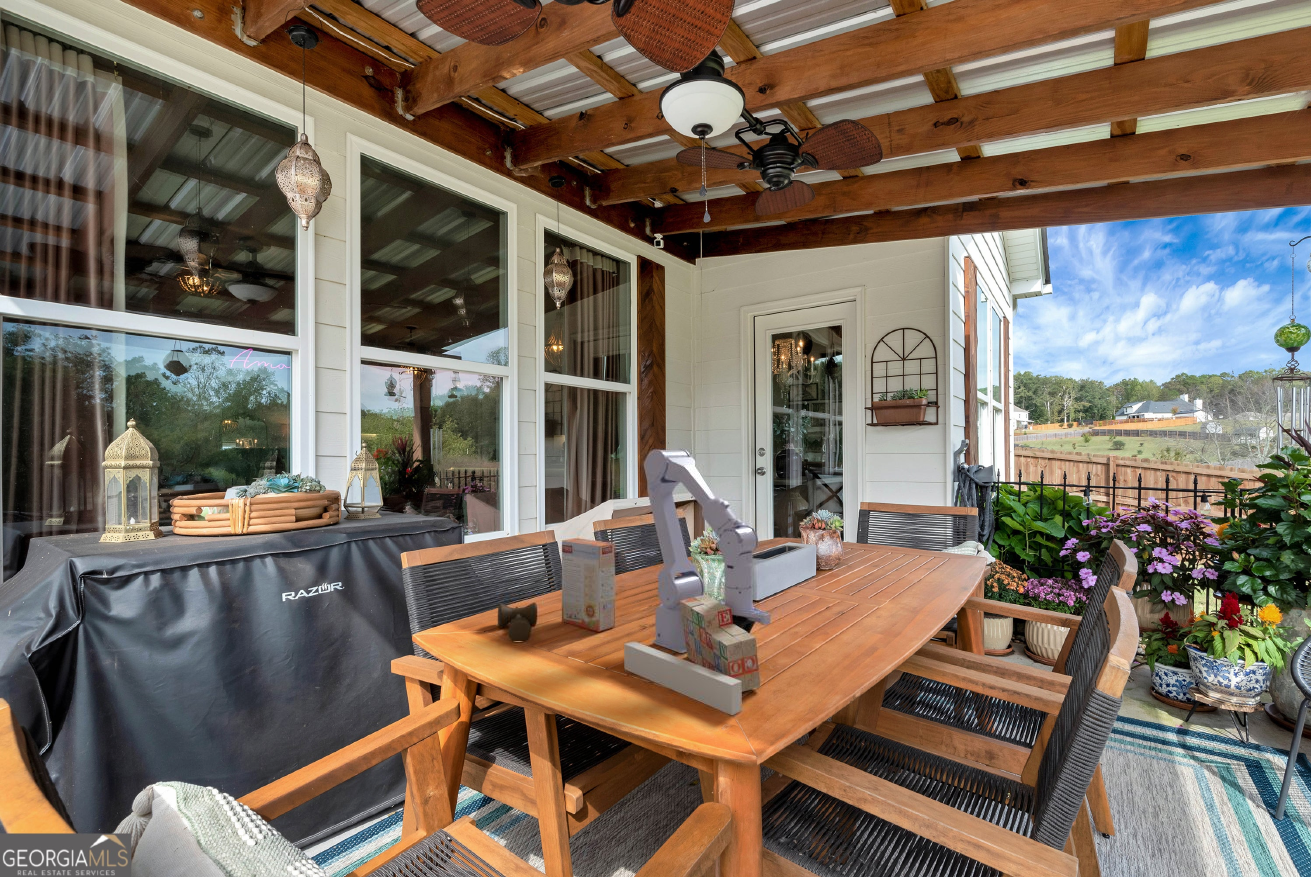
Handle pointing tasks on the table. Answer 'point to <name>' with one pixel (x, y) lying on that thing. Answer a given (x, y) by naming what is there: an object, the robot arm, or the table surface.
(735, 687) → the grey board
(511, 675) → the table surface
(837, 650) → the table surface
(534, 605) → the kendama
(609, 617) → the cracker box
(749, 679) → the stack of blocks
